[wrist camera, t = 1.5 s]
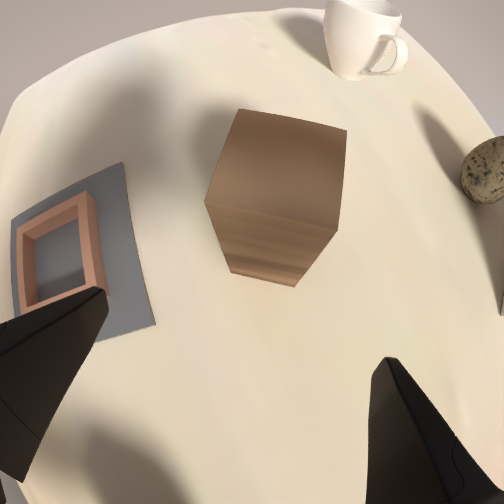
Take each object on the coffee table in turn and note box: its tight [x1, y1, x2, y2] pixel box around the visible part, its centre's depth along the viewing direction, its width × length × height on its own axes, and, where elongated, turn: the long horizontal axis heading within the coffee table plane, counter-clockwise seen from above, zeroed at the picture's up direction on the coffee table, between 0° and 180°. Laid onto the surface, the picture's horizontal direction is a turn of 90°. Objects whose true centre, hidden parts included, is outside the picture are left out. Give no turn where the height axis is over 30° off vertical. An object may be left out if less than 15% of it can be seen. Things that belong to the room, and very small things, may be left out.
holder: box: [11, 162, 156, 343], centre depth 21 cm, size 16×16×2 cm
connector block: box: [204, 109, 347, 287], centre depth 17 cm, size 5×5×12 cm
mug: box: [323, 0, 408, 81], centre depth 23 cm, size 12×8×11 cm
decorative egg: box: [461, 136, 504, 204], centre depth 19 cm, size 6×6×10 cm
